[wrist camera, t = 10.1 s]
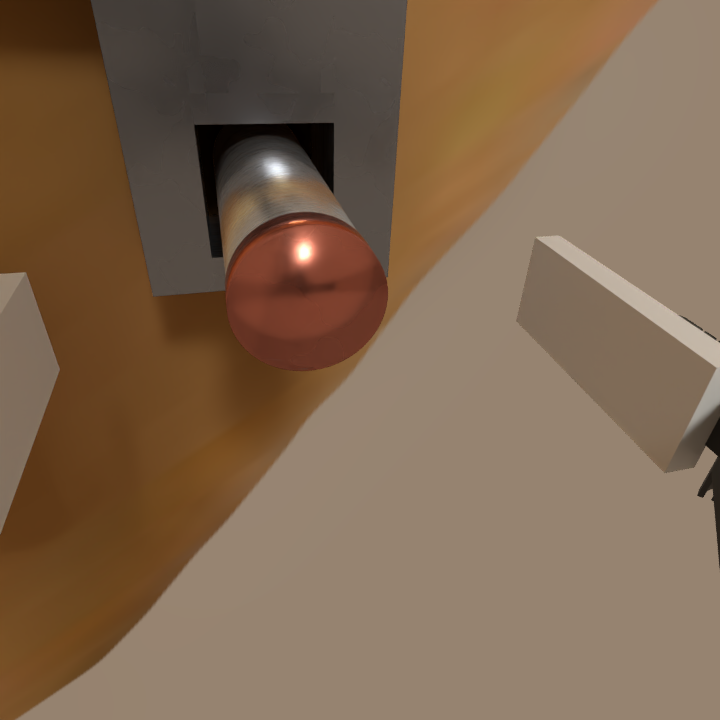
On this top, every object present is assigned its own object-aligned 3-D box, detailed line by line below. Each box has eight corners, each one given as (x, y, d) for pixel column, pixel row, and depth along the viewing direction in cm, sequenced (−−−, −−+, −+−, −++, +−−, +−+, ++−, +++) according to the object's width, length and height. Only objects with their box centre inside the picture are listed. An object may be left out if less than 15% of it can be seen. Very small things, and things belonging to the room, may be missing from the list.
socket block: (83, -148, 18) (51, -186, 14) (373, -122, 20) (417, -148, 16) (159, 248, 26) (153, 296, 22) (360, 235, 28) (387, 277, 24)
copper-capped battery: (206, 111, 23) (217, 232, 12) (300, 110, 24) (393, 221, 13) (217, 205, 25) (235, 379, 14) (303, 201, 26) (383, 361, 15)
